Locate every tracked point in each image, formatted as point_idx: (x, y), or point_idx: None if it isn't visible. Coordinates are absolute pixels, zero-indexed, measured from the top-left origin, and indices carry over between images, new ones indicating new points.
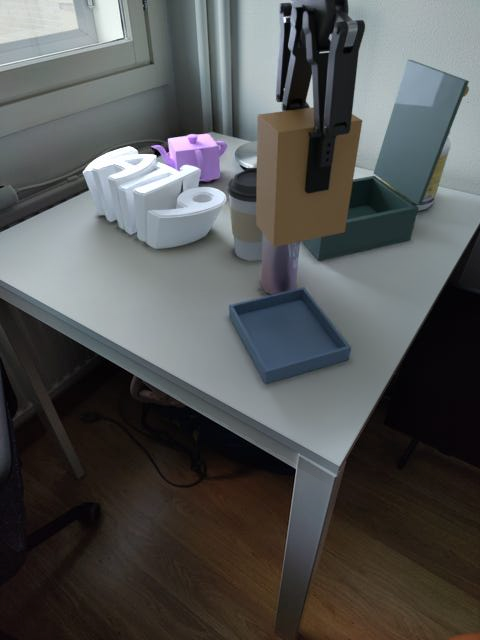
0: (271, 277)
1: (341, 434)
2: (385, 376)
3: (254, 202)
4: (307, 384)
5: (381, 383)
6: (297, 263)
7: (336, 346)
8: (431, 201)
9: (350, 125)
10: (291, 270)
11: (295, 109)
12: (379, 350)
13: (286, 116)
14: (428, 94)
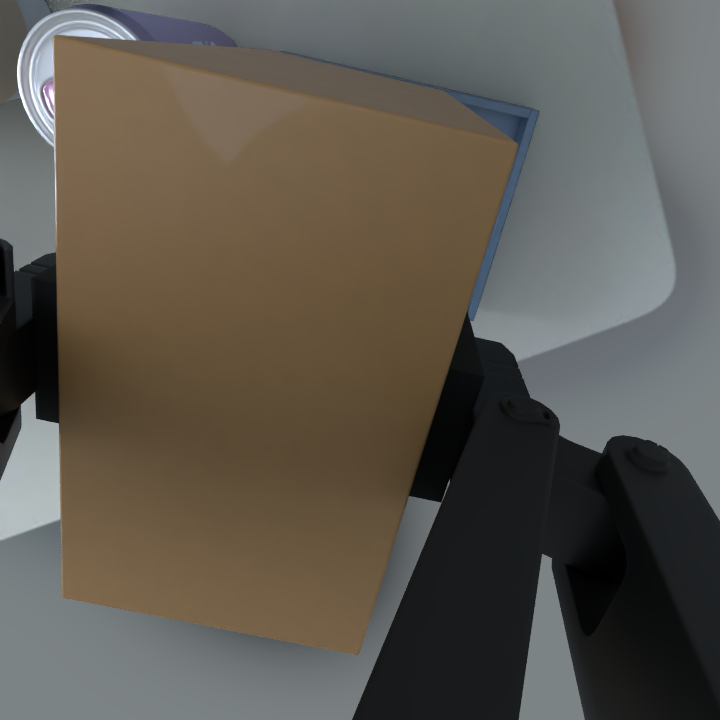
0: None
1: (653, 261)
2: (624, 67)
3: None
4: (523, 237)
5: (631, 93)
6: (214, 44)
7: (486, 109)
8: None
9: (696, 485)
10: None
11: (21, 361)
12: (559, 8)
13: (161, 509)
14: None
